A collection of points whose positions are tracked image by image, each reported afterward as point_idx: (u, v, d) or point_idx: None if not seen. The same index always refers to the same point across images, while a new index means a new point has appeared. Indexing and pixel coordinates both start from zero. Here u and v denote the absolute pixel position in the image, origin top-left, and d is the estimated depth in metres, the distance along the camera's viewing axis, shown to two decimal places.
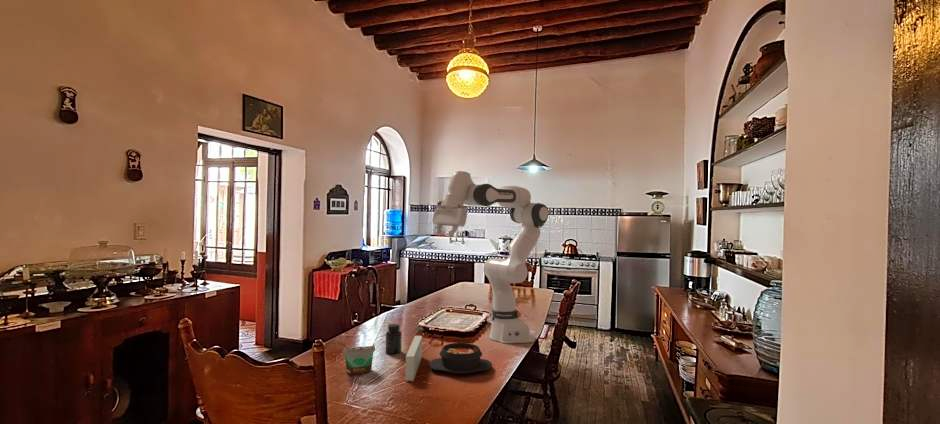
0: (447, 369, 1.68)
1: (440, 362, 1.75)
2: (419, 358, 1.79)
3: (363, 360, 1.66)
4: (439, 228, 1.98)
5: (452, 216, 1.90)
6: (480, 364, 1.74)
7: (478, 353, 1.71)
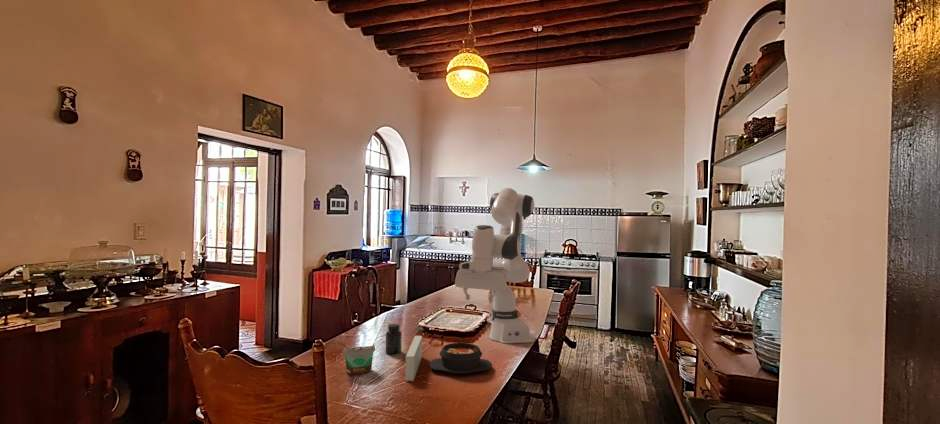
0: (447, 369, 1.68)
1: (440, 362, 1.75)
2: (419, 358, 1.79)
3: (363, 360, 1.66)
4: (466, 292, 1.76)
5: (490, 281, 1.73)
6: (480, 364, 1.74)
7: (478, 353, 1.71)
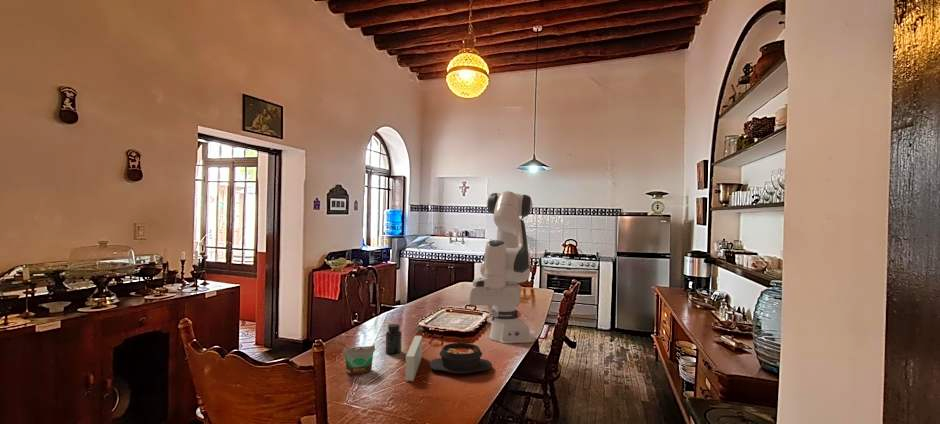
0: (447, 369, 1.68)
1: (440, 362, 1.75)
2: (419, 358, 1.79)
3: (363, 360, 1.66)
4: None
5: (505, 297, 1.72)
6: (480, 364, 1.74)
7: (478, 353, 1.71)
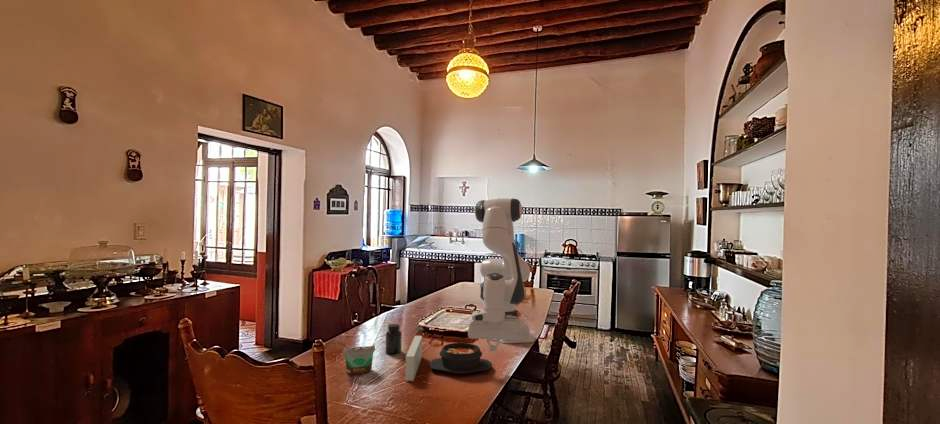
0: (447, 369, 1.68)
1: (440, 362, 1.75)
2: (419, 358, 1.79)
3: (363, 360, 1.66)
4: (489, 342, 1.74)
5: (504, 331, 1.72)
6: (480, 364, 1.74)
7: (478, 353, 1.71)
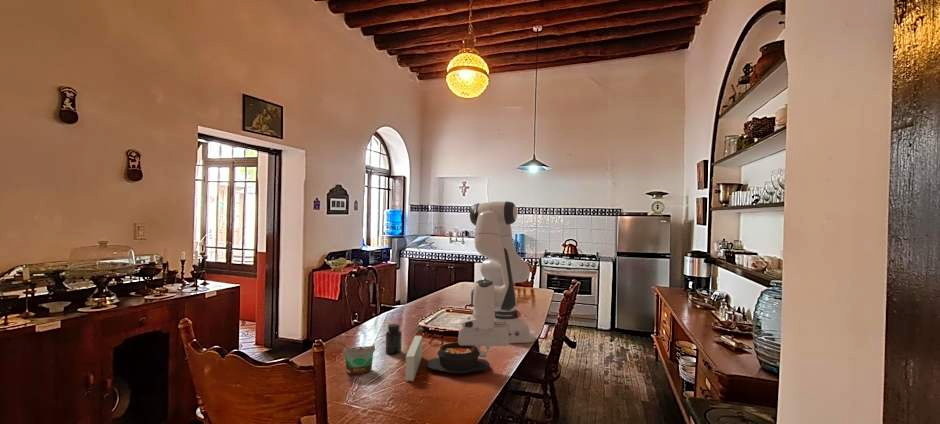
0: (445, 369, 1.68)
1: (438, 362, 1.75)
2: (419, 358, 1.79)
3: (363, 360, 1.66)
4: None
5: (494, 337, 1.72)
6: (478, 364, 1.74)
7: (476, 353, 1.71)
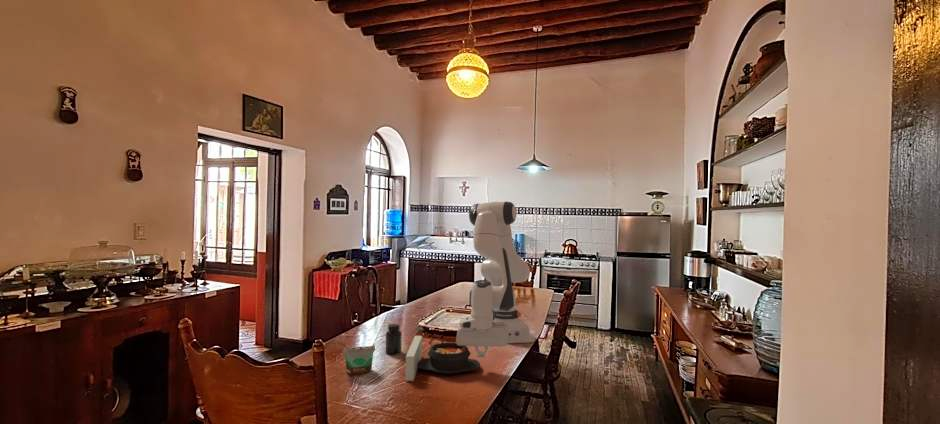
0: (435, 369, 1.68)
1: (428, 362, 1.75)
2: (419, 358, 1.79)
3: (363, 360, 1.66)
4: None
5: (492, 338, 1.73)
6: (468, 364, 1.74)
7: (466, 353, 1.71)
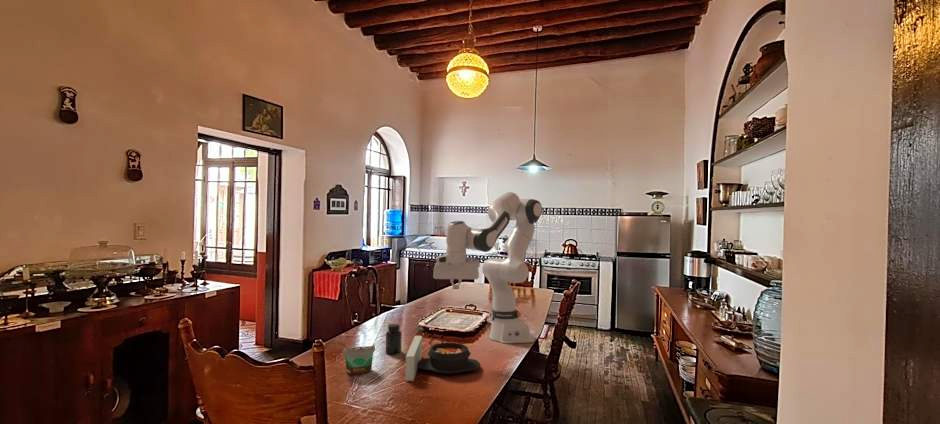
0: (435, 369, 1.68)
1: (428, 362, 1.75)
2: (419, 358, 1.79)
3: (363, 360, 1.66)
4: None
5: (465, 271, 1.93)
6: (468, 364, 1.74)
7: (466, 353, 1.71)
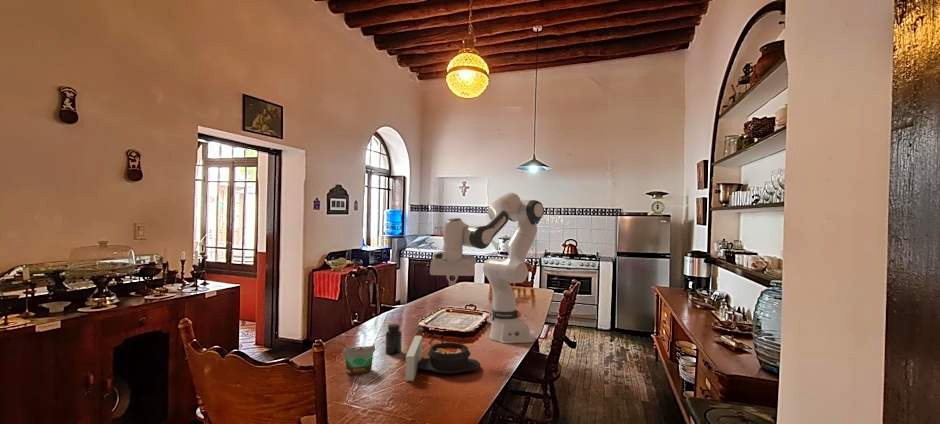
0: (435, 369, 1.68)
1: (428, 362, 1.75)
2: (419, 358, 1.79)
3: (363, 360, 1.66)
4: (449, 279, 1.97)
5: (461, 268, 1.95)
6: (468, 364, 1.74)
7: (466, 353, 1.71)
